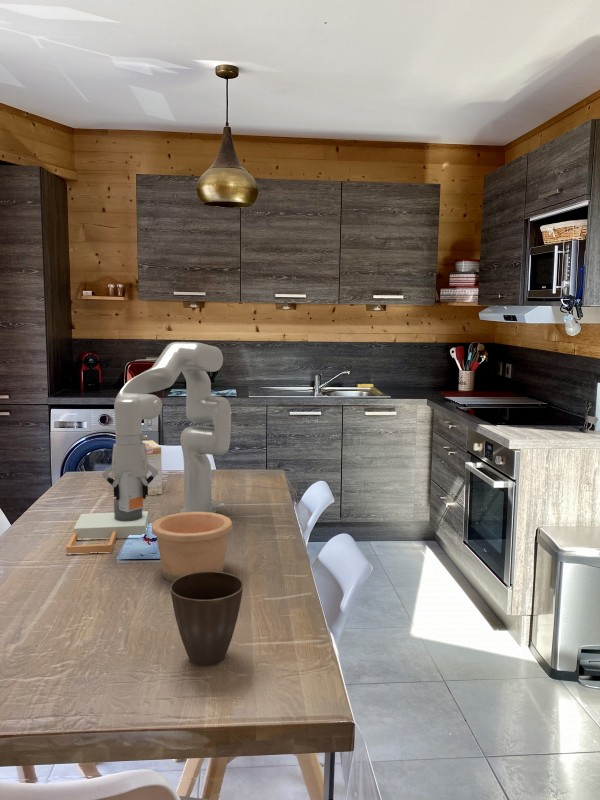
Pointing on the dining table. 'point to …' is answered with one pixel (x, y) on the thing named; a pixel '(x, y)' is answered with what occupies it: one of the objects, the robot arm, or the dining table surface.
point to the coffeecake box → (155, 462)
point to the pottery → (191, 542)
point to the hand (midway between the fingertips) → (131, 498)
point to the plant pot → (206, 613)
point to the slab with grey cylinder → (107, 528)
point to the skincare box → (130, 493)
